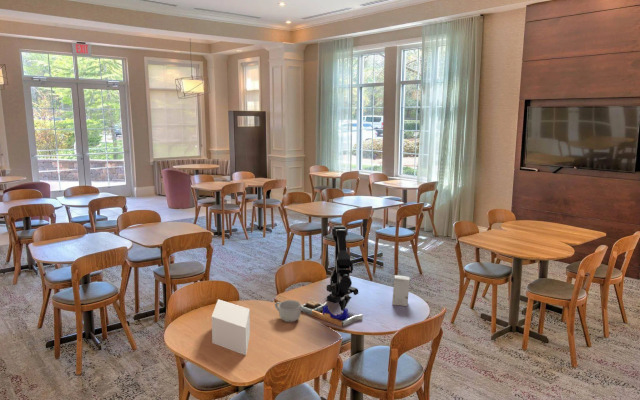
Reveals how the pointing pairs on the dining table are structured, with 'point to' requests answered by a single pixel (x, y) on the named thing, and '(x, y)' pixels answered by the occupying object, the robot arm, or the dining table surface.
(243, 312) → the block
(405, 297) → the skincare box
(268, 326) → the dining table surface
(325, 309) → the cable clip
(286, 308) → the teacup
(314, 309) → the rack
